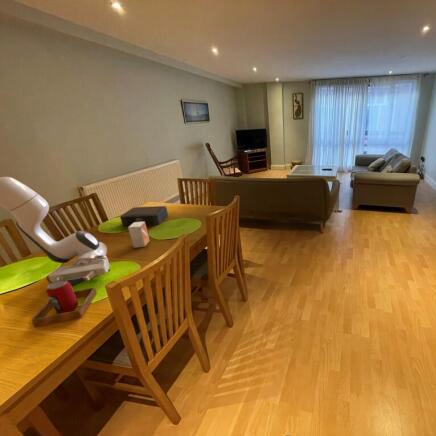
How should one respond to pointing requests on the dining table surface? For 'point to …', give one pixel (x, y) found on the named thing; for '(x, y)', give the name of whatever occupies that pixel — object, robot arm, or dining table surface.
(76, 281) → the rubber mat
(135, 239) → the small box
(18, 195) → the robot arm
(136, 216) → the cash box
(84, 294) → the brown wooden frame
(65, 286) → the beverage can
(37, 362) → the dining table surface
